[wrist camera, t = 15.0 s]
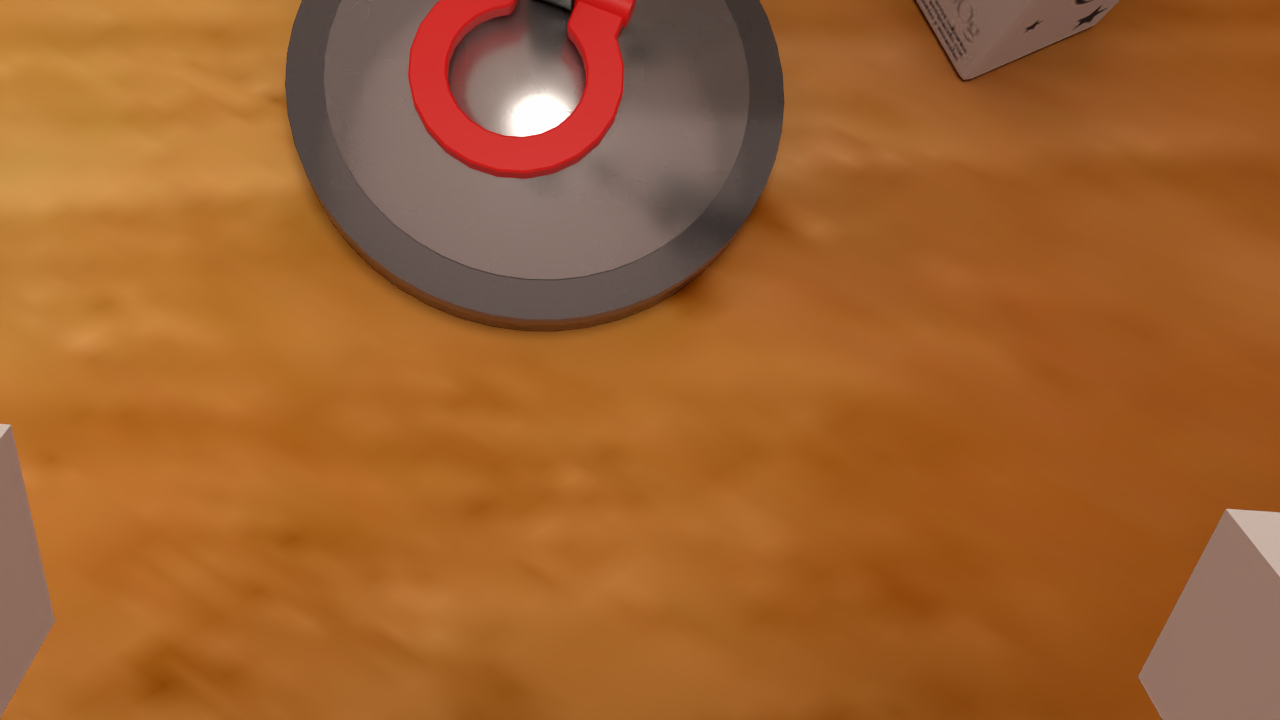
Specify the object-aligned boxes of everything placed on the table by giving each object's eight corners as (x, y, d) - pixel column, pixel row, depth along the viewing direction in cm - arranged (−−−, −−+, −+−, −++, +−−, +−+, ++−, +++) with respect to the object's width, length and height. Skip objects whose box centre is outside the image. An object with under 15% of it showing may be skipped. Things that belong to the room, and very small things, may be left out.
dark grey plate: (862, 93, 47) (879, 69, 45) (563, 433, 42) (566, 423, 40) (519, -189, 48) (520, -225, 46) (189, 109, 43) (172, 84, 41)
